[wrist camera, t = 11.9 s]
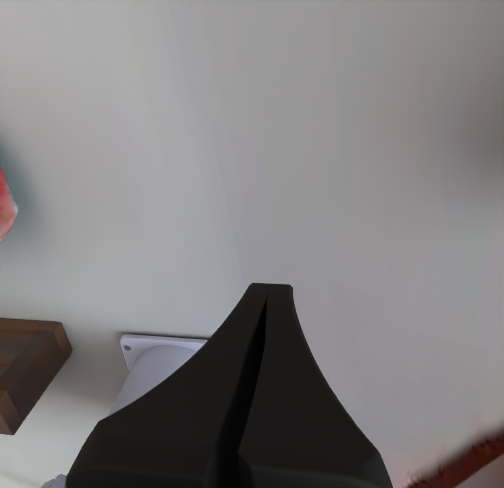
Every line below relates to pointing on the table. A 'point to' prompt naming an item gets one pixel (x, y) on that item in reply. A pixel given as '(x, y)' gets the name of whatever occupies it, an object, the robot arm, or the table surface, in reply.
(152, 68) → the table surface
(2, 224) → the athletic shoe
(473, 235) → the table surface
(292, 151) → the table surface
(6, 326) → the rack
